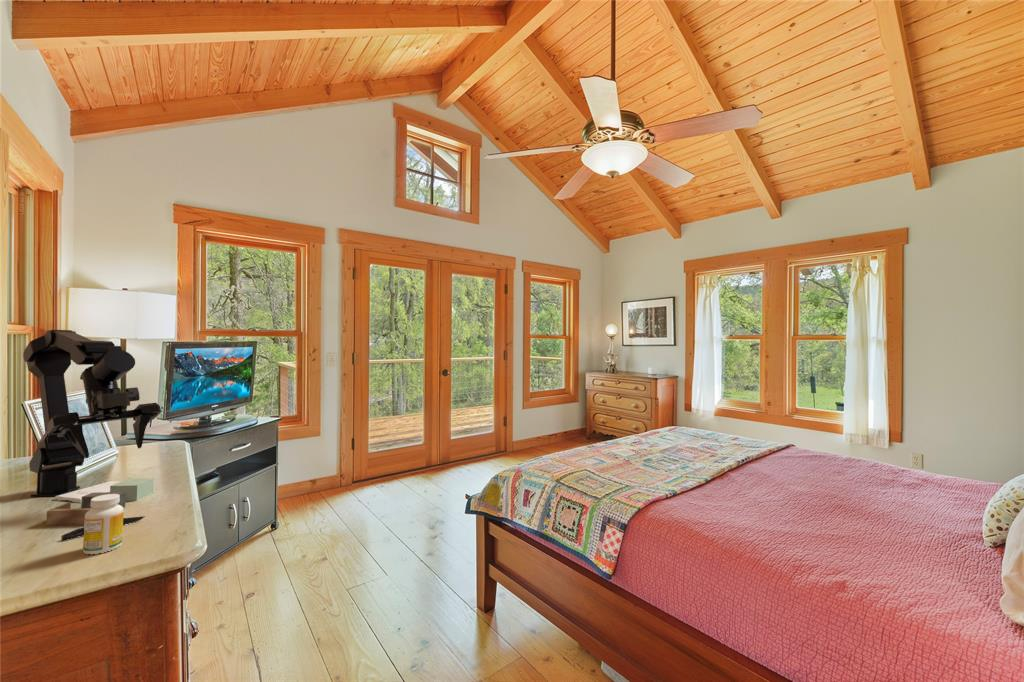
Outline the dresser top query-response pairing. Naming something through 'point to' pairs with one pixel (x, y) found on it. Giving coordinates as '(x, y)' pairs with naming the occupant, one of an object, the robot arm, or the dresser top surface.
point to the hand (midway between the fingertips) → (114, 452)
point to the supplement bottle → (103, 524)
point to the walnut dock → (66, 515)
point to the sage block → (134, 488)
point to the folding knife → (81, 530)
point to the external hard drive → (86, 492)
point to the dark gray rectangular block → (87, 498)
